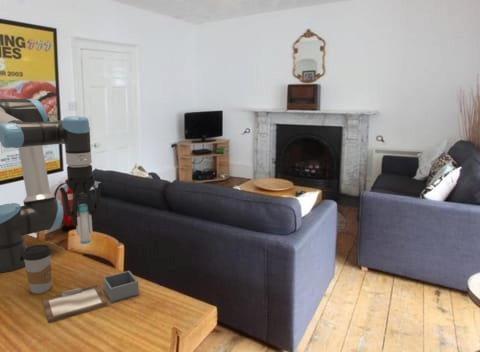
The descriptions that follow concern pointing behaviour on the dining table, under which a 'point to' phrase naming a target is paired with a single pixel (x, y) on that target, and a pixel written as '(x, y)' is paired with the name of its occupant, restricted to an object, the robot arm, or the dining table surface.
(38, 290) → the coffee cup
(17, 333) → the dining table surface
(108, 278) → the grey open box
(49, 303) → the clipboard
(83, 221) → the marker
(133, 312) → the dining table surface
